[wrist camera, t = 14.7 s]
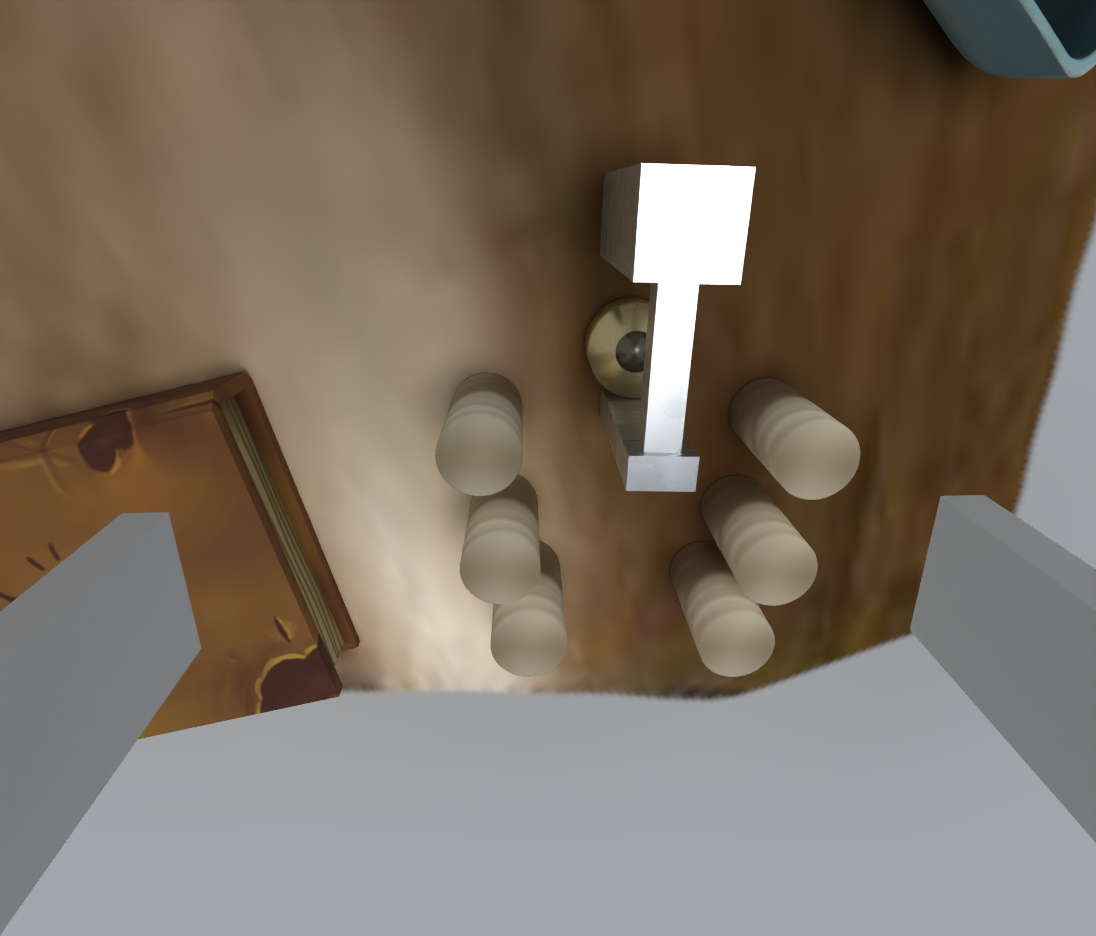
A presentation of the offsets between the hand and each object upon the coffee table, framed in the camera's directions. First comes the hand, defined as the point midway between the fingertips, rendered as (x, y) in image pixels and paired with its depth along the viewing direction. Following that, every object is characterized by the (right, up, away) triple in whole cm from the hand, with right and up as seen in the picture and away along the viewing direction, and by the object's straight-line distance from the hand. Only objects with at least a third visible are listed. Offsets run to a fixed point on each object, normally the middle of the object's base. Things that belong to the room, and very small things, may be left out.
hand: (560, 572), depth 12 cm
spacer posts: (+4, 0, +30) cm, 30 cm away
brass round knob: (+4, +9, +26) cm, 28 cm away
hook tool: (+4, +11, +25) cm, 28 cm away
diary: (-26, -3, +31) cm, 40 cm away
